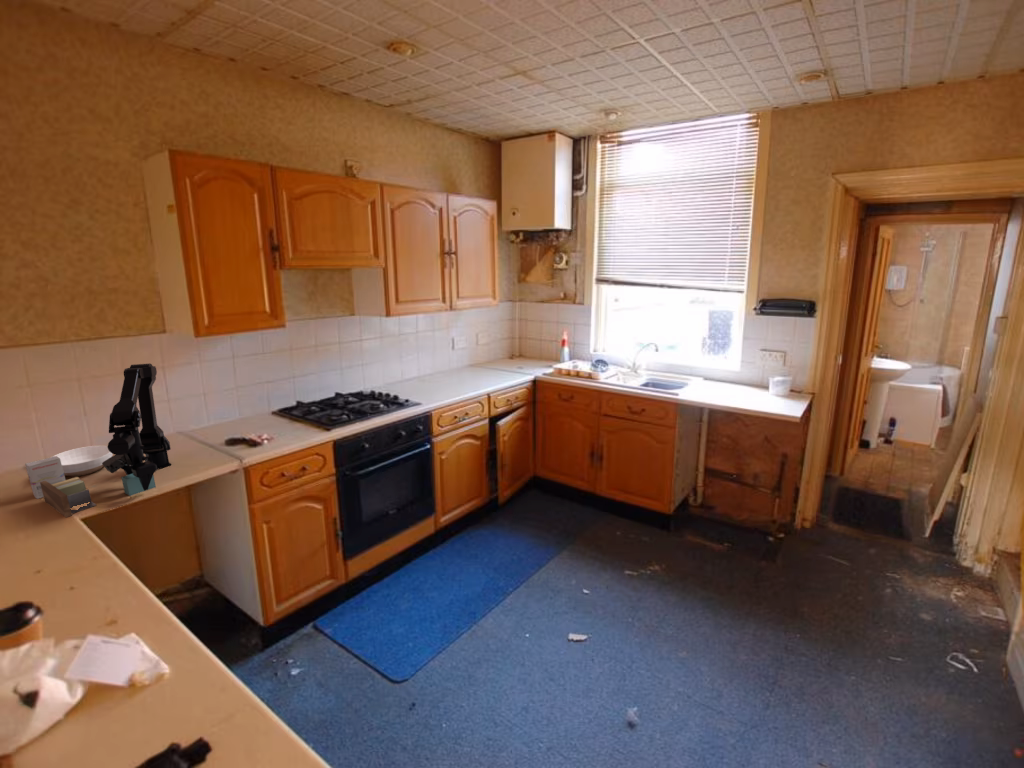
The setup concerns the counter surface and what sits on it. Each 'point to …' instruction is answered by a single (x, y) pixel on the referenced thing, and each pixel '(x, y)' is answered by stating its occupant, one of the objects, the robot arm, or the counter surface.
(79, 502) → the grey metal bookend
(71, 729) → the counter surface
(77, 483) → the row of shelved books
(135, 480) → the grey teal rectangular block
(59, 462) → the ink box
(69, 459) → the bowl
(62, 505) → the walnut back wall
